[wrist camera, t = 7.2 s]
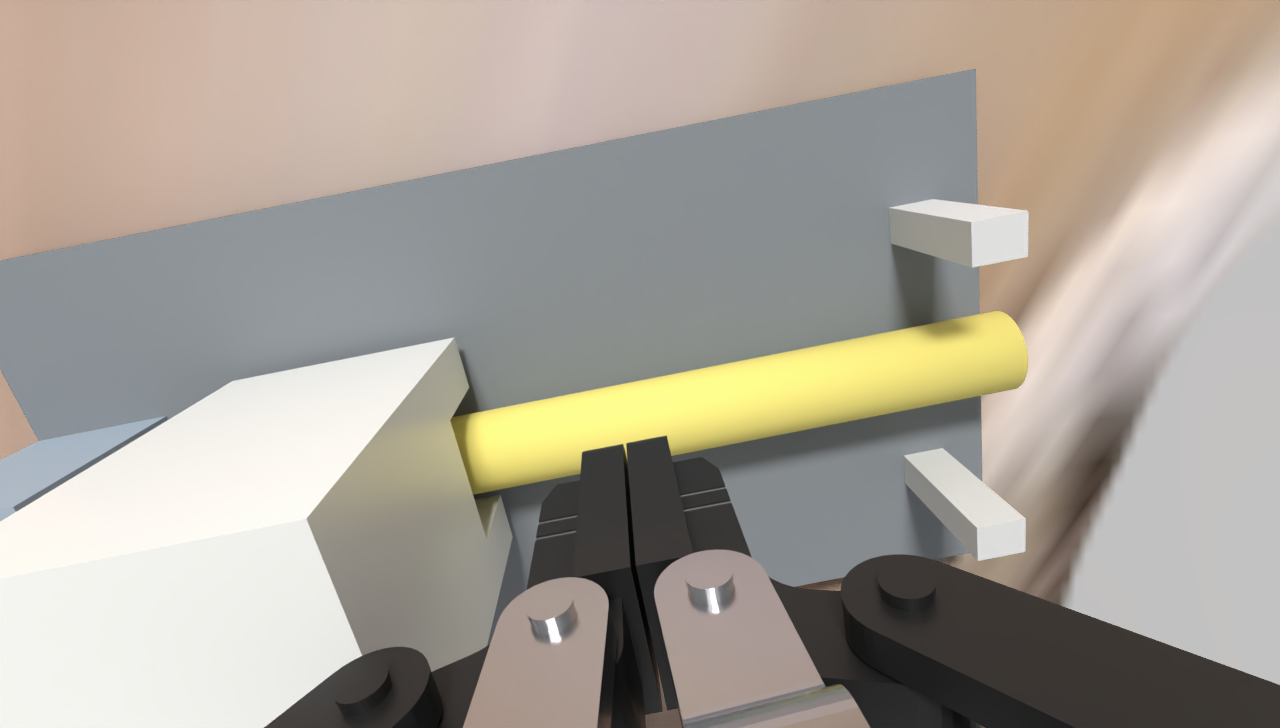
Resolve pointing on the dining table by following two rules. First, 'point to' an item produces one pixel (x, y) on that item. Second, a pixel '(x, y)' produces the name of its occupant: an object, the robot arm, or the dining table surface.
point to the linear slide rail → (599, 321)
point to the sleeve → (252, 552)
